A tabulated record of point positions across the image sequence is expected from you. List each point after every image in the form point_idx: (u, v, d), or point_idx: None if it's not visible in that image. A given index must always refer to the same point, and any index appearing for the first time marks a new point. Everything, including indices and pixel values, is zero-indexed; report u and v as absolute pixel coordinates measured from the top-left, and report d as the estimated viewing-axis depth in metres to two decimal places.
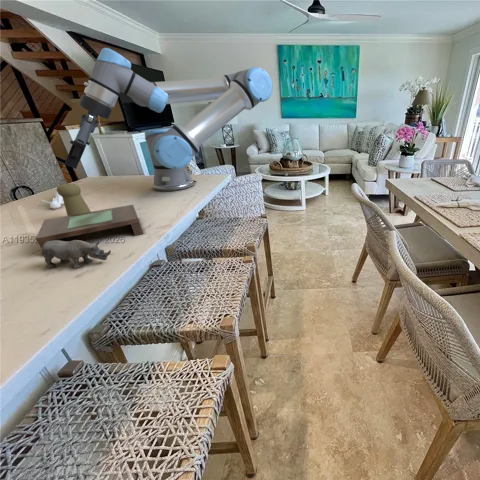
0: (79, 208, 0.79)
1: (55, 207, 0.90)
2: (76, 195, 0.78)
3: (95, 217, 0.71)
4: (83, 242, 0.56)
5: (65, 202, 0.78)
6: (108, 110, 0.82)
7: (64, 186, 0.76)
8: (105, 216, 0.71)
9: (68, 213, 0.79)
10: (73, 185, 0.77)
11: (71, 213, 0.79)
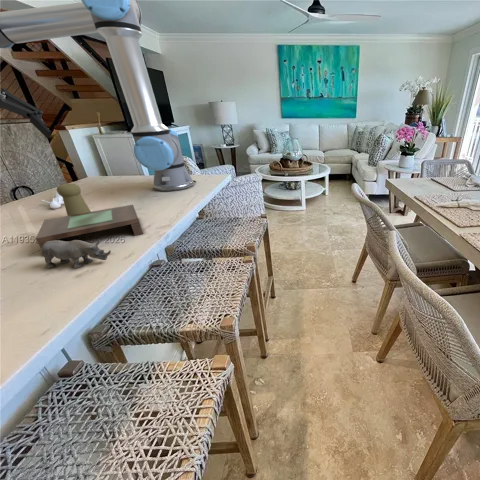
0: (79, 208, 0.79)
1: (55, 207, 0.90)
2: (76, 195, 0.78)
3: (95, 217, 0.71)
4: (83, 242, 0.56)
5: (65, 202, 0.78)
6: None
7: (64, 186, 0.76)
8: (105, 216, 0.71)
9: (68, 213, 0.79)
10: (73, 185, 0.77)
11: (71, 213, 0.79)
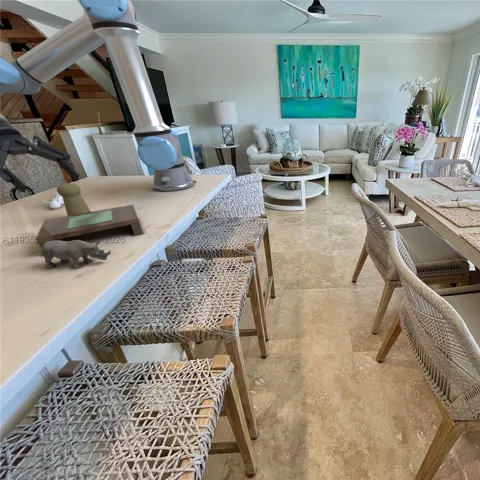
0: (79, 208, 0.79)
1: (55, 207, 0.90)
2: (76, 195, 0.78)
3: (95, 217, 0.71)
4: (83, 242, 0.56)
5: (65, 202, 0.78)
6: None
7: (64, 186, 0.76)
8: (105, 216, 0.71)
9: (68, 213, 0.79)
10: (73, 185, 0.77)
11: (71, 213, 0.79)
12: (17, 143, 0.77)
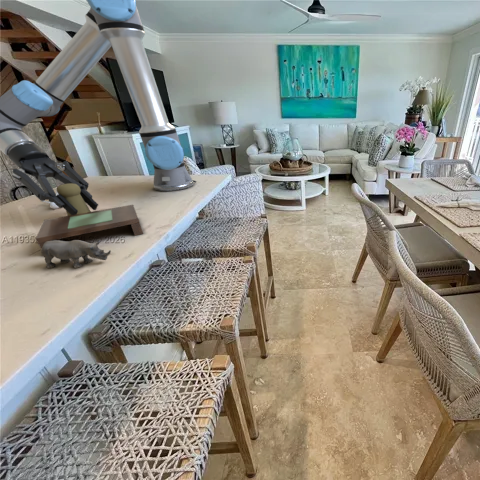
0: (79, 208, 0.79)
1: (55, 207, 0.90)
2: (76, 195, 0.78)
3: (95, 217, 0.71)
4: (83, 242, 0.56)
5: None
6: (17, 148, 0.73)
7: (64, 186, 0.76)
8: (105, 216, 0.71)
9: (68, 213, 0.79)
10: (73, 185, 0.77)
11: None
12: (44, 166, 0.77)
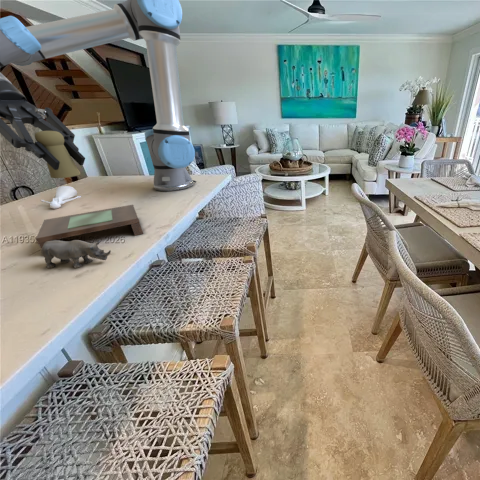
0: (62, 161, 0.67)
1: (55, 207, 0.90)
2: (59, 144, 0.66)
3: (95, 217, 0.71)
4: (83, 242, 0.56)
5: None
6: None
7: (44, 132, 0.64)
8: (105, 216, 0.71)
9: (49, 166, 0.67)
10: (55, 132, 0.65)
11: None
12: (21, 109, 0.65)
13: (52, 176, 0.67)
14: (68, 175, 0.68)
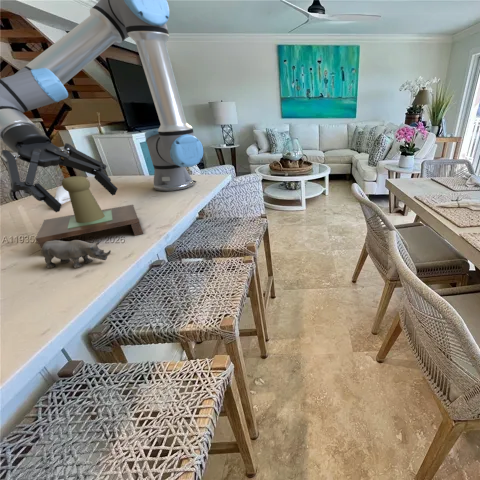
0: (88, 206, 0.67)
1: None
2: (85, 190, 0.66)
3: None
4: (83, 242, 0.56)
5: (72, 198, 0.65)
6: (13, 130, 0.61)
7: (71, 179, 0.64)
8: (105, 216, 0.71)
9: (75, 211, 0.67)
10: (81, 178, 0.65)
11: (79, 211, 0.67)
12: (48, 153, 0.65)
13: (78, 221, 0.67)
14: (93, 219, 0.68)
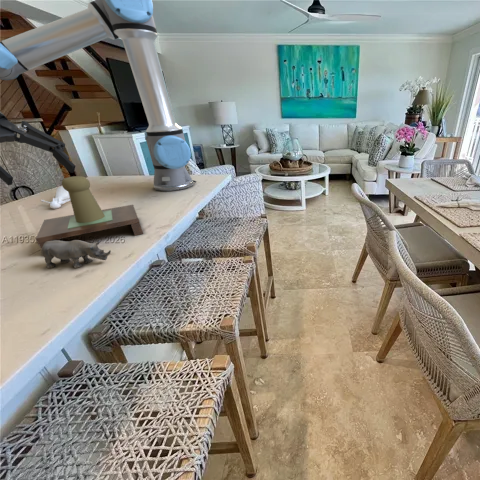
0: (88, 206, 0.67)
1: (55, 207, 0.90)
2: (85, 190, 0.66)
3: None
4: (83, 242, 0.56)
5: (72, 198, 0.65)
6: None
7: (71, 179, 0.64)
8: (105, 216, 0.71)
9: (75, 211, 0.67)
10: (81, 178, 0.65)
11: (79, 211, 0.67)
12: (3, 129, 0.67)
13: (78, 221, 0.67)
14: (93, 219, 0.68)
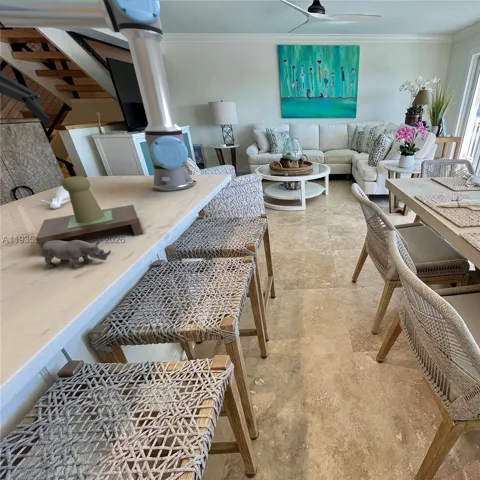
0: (88, 206, 0.67)
1: (55, 207, 0.90)
2: (85, 190, 0.66)
3: None
4: (83, 242, 0.56)
5: (72, 198, 0.65)
6: None
7: (71, 179, 0.64)
8: (105, 216, 0.71)
9: (75, 211, 0.67)
10: (81, 178, 0.65)
11: (79, 211, 0.67)
12: None
13: (78, 221, 0.67)
14: (93, 219, 0.68)
